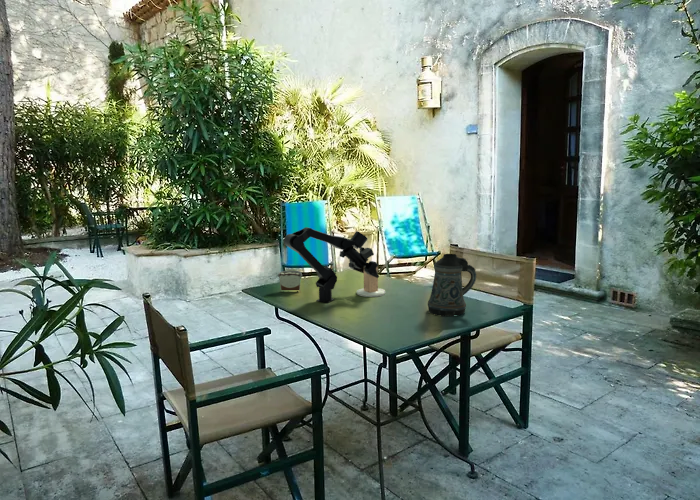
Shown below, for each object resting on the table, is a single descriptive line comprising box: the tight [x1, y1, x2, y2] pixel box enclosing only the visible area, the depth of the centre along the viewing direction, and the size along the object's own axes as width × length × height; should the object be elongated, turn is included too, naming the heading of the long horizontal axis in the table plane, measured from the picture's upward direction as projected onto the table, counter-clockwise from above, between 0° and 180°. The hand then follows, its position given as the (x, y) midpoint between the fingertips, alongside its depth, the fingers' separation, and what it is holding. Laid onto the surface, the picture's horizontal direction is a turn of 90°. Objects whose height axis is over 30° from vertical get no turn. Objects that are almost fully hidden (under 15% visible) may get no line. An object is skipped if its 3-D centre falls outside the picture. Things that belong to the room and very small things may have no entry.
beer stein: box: [427, 253, 477, 317], centre depth 239 cm, size 16×19×25 cm
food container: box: [277, 270, 303, 291], centre depth 281 cm, size 12×6×10 cm, turn 84°
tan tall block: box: [363, 265, 379, 293], centre depth 273 cm, size 5×5×13 cm
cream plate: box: [356, 287, 386, 298], centre depth 274 cm, size 14×14×1 cm
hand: (373, 275), depth 273 cm, fingers open, 9 cm apart
